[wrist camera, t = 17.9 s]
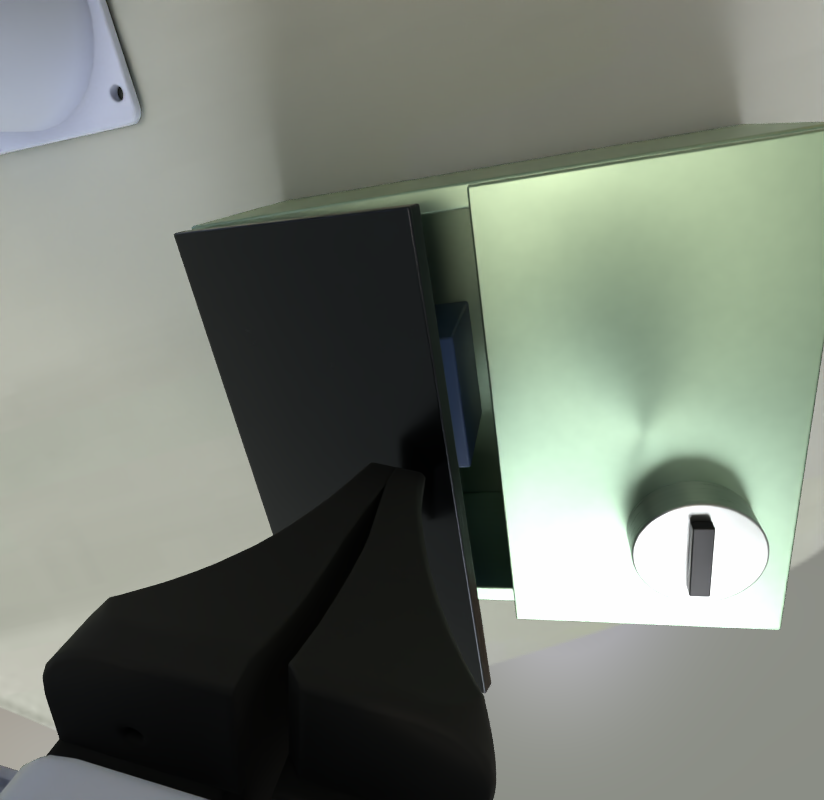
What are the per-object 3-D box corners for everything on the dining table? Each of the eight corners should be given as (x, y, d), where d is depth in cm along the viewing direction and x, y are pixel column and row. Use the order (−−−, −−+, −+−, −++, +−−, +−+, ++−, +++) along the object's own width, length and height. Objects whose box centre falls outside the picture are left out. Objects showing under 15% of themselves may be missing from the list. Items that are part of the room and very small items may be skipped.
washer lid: (305, 602, 20) (297, 610, 19) (185, 230, 14) (172, 233, 14) (491, 683, 16) (485, 695, 15) (419, 203, 10) (408, 206, 10)
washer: (355, 497, 26) (298, 610, 19) (282, 201, 20) (172, 231, 14) (715, 491, 22) (783, 632, 16) (743, 123, 16) (863, 120, 10)
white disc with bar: (622, 225, 12) (634, 238, 11) (786, 203, 11) (822, 214, 10) (624, 565, 16) (633, 609, 15) (745, 567, 15) (767, 614, 14)
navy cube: (349, 313, 21) (310, 349, 17) (468, 300, 20) (452, 337, 16) (372, 419, 23) (341, 472, 19) (482, 413, 22) (471, 468, 18)
